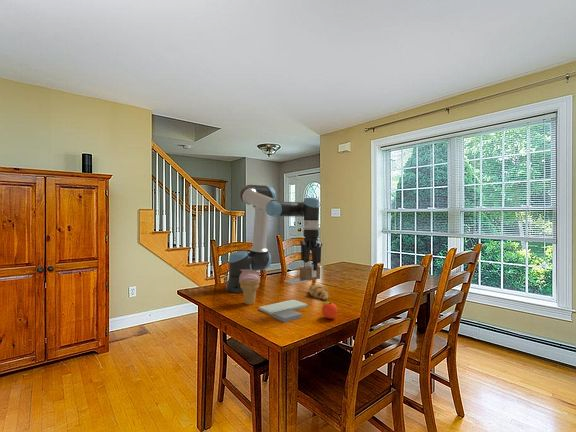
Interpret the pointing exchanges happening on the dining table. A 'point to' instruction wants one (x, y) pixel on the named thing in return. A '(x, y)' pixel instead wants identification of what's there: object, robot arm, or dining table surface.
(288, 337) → the dining table surface
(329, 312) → the clementine
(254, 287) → the ice cream cone
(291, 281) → the brown grey long block
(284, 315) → the tile
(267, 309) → the board
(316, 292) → the croissant
